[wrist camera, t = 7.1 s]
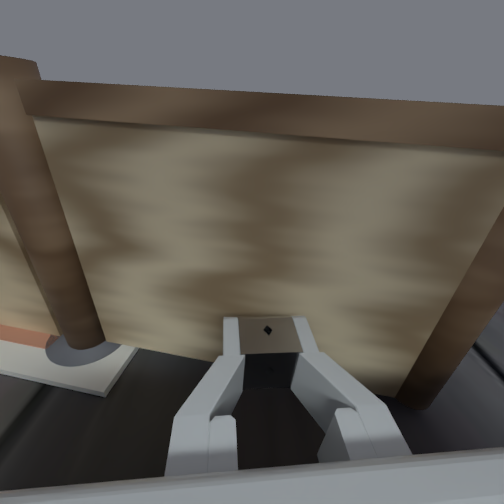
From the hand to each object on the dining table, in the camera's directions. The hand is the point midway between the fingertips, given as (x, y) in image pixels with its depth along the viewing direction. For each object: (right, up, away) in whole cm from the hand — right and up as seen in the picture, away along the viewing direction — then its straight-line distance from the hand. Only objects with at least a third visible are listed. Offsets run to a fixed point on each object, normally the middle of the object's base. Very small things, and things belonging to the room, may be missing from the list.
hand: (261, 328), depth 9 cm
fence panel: (0, -3, +4) cm, 5 cm away
